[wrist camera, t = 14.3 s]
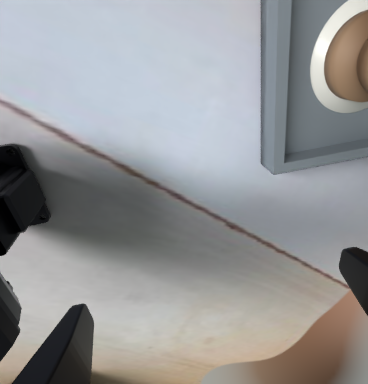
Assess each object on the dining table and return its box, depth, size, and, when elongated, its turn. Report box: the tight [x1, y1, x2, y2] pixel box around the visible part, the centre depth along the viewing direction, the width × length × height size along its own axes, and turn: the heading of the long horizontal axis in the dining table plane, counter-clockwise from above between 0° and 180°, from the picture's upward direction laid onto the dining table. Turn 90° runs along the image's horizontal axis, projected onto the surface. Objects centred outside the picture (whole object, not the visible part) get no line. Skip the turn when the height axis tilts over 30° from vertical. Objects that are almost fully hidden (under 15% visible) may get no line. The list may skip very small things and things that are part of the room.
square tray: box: [261, 0, 368, 175], centre depth 18 cm, size 14×14×2 cm
